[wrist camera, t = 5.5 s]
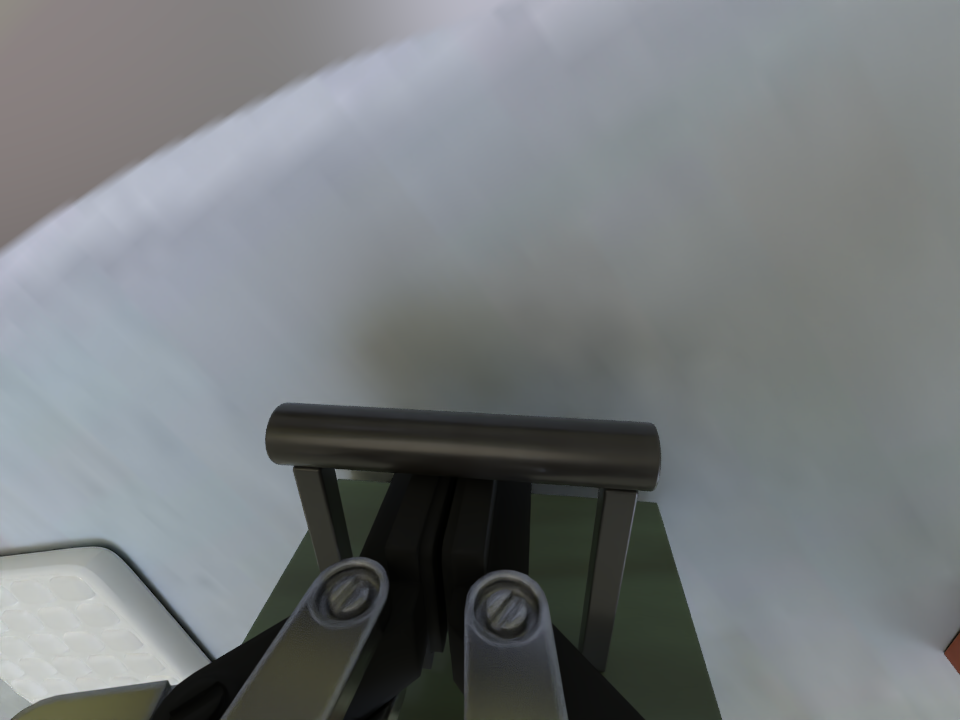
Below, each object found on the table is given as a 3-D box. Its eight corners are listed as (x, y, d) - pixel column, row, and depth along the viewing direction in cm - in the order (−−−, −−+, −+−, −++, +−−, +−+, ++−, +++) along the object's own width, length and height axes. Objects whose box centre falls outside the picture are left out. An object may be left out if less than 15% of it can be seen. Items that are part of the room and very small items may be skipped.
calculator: (111, 537, 22) (74, 571, 20) (294, 753, 30) (280, 790, 28) (-77, 560, 25) (-122, 592, 23) (136, 750, 33) (115, 783, 31)
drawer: (301, 304, 14) (86, 462, 7) (697, 315, 12) (864, 521, 6) (380, 683, 23) (317, 901, 17) (612, 713, 22) (641, 963, 15)
